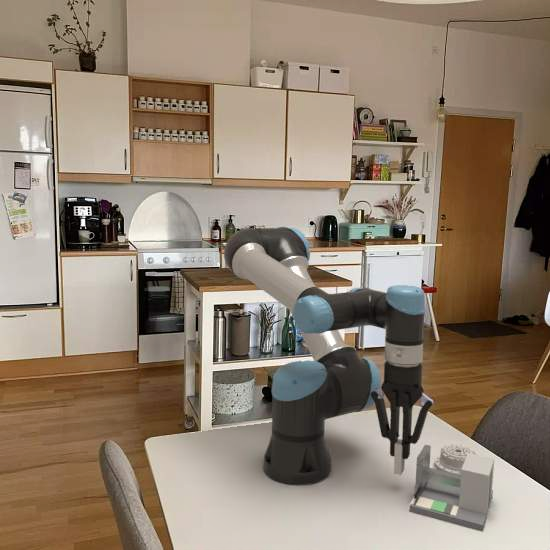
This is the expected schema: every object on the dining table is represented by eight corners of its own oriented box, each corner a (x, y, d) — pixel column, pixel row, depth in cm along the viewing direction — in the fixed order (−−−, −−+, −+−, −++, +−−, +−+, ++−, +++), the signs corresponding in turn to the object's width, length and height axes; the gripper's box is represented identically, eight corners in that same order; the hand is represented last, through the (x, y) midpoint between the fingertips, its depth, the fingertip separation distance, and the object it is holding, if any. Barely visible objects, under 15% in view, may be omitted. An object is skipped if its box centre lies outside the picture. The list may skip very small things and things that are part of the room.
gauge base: (409, 511, 109) (411, 467, 108) (426, 479, 121) (428, 440, 120) (482, 531, 103) (486, 485, 101) (492, 495, 115) (495, 454, 114)
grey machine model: (411, 498, 110) (412, 464, 109) (423, 475, 119) (425, 444, 118) (467, 513, 105) (469, 478, 104) (475, 488, 114) (478, 455, 113)
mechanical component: (436, 477, 123) (484, 482, 121) (437, 458, 122) (485, 463, 120) (432, 457, 132) (476, 461, 130) (433, 439, 132) (478, 443, 130)
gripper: (366, 362, 114) (363, 471, 117) (431, 371, 108) (426, 487, 111) (378, 353, 120) (374, 457, 124) (439, 361, 114) (434, 471, 117)
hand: (399, 471), depth 117 cm, fingers closed
